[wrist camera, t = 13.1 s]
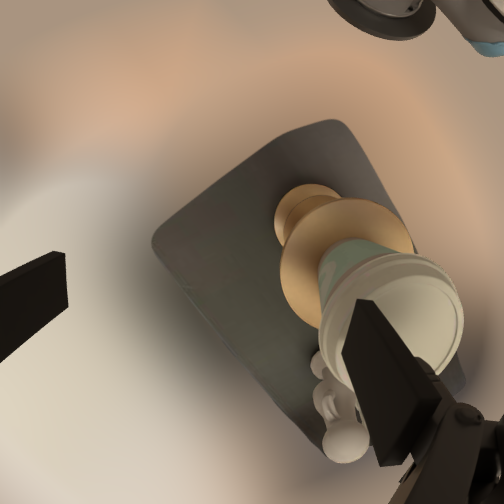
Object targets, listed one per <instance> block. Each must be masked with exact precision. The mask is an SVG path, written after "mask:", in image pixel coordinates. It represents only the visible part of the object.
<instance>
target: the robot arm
mask: <svg viewBox="0 0 504 504" xmlns="http://www.w3.org/2000/svg"><path fill="white" fill-rule="evenodd" d="M355 1H356V2H357V3H358V4H359V5H360V6H362V7H363V8H365V9H366V10H368V11H370V12H372V13H373V14H376V15H378V16H381V17H384V18H388V19H405V18H408V17H410V16H412V15H413V14H414V13H415V12H416V11H417V10H418V9H419V8H420V6H421V4H422V2H423V0H355ZM431 1H432V2H433V3H434V4H435V5H436V6H437V7H438V8H439V9H440V10H441V11H442V12H443V13H444V15H445V16H446V17H447V18H448V19H449V20H450V21H451V22H452V24H453V25H454V26H455V27H456V28H457V29H458V31H459V32H460V33H461V34H462V36H463V37H464V39H465V40H467V41H468V42H469V43H470V44H471V45H472V46H473V48H475V50H476V51H477V52H478V53H479V54H481V55H483V56H486V57H498V56H503V55H504V0H431ZM67 308H68V295H67V282H66V263H65V253H62V252H57V251H52V252H50V253H47V254H46V255H43V256H41V257H39V258H36V259H35V260H32V261H30V262H28V263H26V264H24V265H22V266H20V267H18V268H16V269H14V270H12V271H10V272H8V273H6V274H4V275H2V276H0V363H1V362H2V361H3V360H5V359H6V358H7V357H8V356H9V355H10V354H11V353H13V352H14V351H15V350H16V349H17V348H19V347H20V346H21V345H22V344H23V343H24V342H26V341H27V340H28V339H29V338H31V337H32V336H33V335H34V334H35V333H37V332H38V331H39V330H40V329H41V328H43V327H44V326H45V325H46V324H48V323H49V322H50V321H51V320H53V319H54V318H55V317H56V316H58V315H59V314H60V313H61V312H63V311H64V310H65V309H67ZM341 356H342V358H343V361H344V364H345V367H346V369H347V372H348V375H349V378H350V380H351V383H352V386H353V389H354V392H355V394H356V397H357V400H358V403H359V406H360V409H361V412H362V414H363V417H364V420H365V423H366V426H367V429H368V432H369V435H370V438H371V441H372V444H373V447H374V450H375V453H376V456H377V460H378V463H379V466H380V467H384V466H394V465H402V463H403V462H404V460H405V459H406V458H407V456H408V455H409V453H410V452H411V455H412V457H413V459H414V462H413V464H412V465H411V466H410V468H409V469H408V470H407V472H406V473H405V474H404V476H403V477H402V478H401V480H400V481H399V482H400V485H399V487H398V489H397V491H396V492H395V494H394V495H393V497H392V498H391V500H390V502H389V503H388V504H504V415H503V416H502V418H501V419H500V421H499V422H497V421H488V420H484V417H483V415H482V414H481V412H480V411H479V410H477V409H476V408H475V407H473V406H471V405H469V404H465V403H457V402H456V401H455V399H454V398H453V397H452V395H451V394H450V392H449V391H448V389H447V388H446V387H445V385H444V384H443V382H441V380H440V378H439V377H438V375H436V373H435V371H434V370H433V369H432V367H431V366H430V364H428V363H427V362H426V361H424V360H423V359H422V358H420V357H414V356H413V354H412V353H411V351H410V350H409V349H408V347H407V346H406V344H405V343H404V342H403V340H402V339H401V337H400V336H399V335H398V333H397V332H396V331H395V329H394V328H393V326H392V325H391V324H390V322H389V321H388V320H387V318H386V317H385V316H384V314H383V313H382V312H381V310H380V309H379V308H378V306H377V305H376V304H375V302H374V301H373V300H366V299H356V303H355V307H354V310H353V314H352V318H351V321H350V325H349V328H348V332H347V335H346V338H345V342H344V345H343V348H342V352H341ZM500 474H501V477H500V480H499V476H500Z"/></svg>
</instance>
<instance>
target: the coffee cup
mask: <svg viewBox="0 0 504 504" xmlns="http://www.w3.org/2000/svg"><path fill="white" fill-rule="evenodd" d="M318 286H319V295H320V305H321V315H322V317H321V321H320V326H319V347H320V351H321V355H322V357H323V360H324V362H325V363H326V365H327V366H328V368H329V370H330V371H331V373H332V374H333V375H334V376H335V377H336V378H337V379H338V380H339V381H340V382H341V383H343V384H344V385H346V386H347V387H348V388H349V389H350V390H352V391H353V392H354V389H353V386H352V383H351V380H350V378H349V375H348V372H347V369H346V367H345V364H344V361H343V358H342V356H341V352H342V348H343V345H344V342H345V338H346V335H347V332H348V328H349V325H350V321H351V318H352V314H353V310H354V307H355V303H356V299H366V300H373V301H374V302H375V304H376V305H377V306H378V308H379V309H380V310H381V312H382V313H383V314H384V316H385V317H386V318H387V320H388V321H389V322H390V324H391V325H392V326H393V328H394V329H395V331H396V332H397V333H398V335H399V336H400V337H401V339H402V340H403V342H404V343H405V344H406V346H407V347H408V349H409V350H410V351H411V353H412V354H413V356H414V357H420V358H422V359H423V360H424V361H426V362H427V363H428V364H430V366H431V367H432V369H433V370H434V371H435V373H436V375H439V374H440V373H441V372H442V371H443V369H444V368H445V367H446V366H447V364H448V363H449V362H450V360H451V359H452V357H453V355H454V354H455V352H456V350H457V347H458V345H459V343H460V340H461V336H462V332H463V324H464V315H463V308H462V305H461V302H460V300H459V297H458V294H457V291H456V288H455V286H454V284H453V282H452V280H451V279H450V277H449V276H448V275H447V274H446V272H445V271H444V270H443V269H442V268H441V267H440V266H439V265H438V264H437V263H435V262H434V261H432V260H431V259H429V258H427V257H424V256H421V255H418V254H413V253H400V252H398V251H395V250H393V249H390V248H387V247H384V246H382V245H379V244H376V243H374V242H371V241H368V240H365V239H362V238H357V237H350V238H345V239H342V240H339V241H337V242H335V243H334V244H332V245H331V246H330V247H329V248H328V249H327V250H326V251H325V253H324V254H323V256H322V257H321V259H320V262H319V265H318ZM354 393H355V392H354Z"/></svg>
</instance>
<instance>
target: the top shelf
mask: <svg viewBox="0 0 504 504" xmlns="http://www.w3.org/2000/svg"><path fill="white" fill-rule="evenodd" d="M350 237H357V238H362V239H365V240H368V241H371V242H374V243H376V244H379V245H382V246H384V247H387V248H390V249H393V250H395V251H398V252H400V253H413V254H414V251H413V246H412V242H411V238H410V236H409V234H408V232H407V230H406V228H405V226H404V225H403V223H402V222H401V221H400V220H399V218H398V217H397V216H396V215H395V214H393V213H392V212H391V211H390V210H388V209H387V208H385V207H384V206H382V205H380V204H378V203H376V202H373V201H369V200H366V199H361V198H339V199H334V200H331V201H328V202H325V203H323V204H321V205H319V206H317V207H315V208H314V209H312V210H310V211H309V212H308V213H307V214H305V215H304V216H303V217H302V218H301V219H300V220H299V221H298V222H297V223H296V225H295V226H294V227H293V229H292V230H291V232H290V234H289V235H288V237H287V239H286V242H285V244H284V246H283V250H282V254H281V259H280V278H281V285H282V289H283V292H284V295H285V297H286V299H287V302H288V303H289V305H290V306H291V308H292V309H293V311H294V312H295V313H296V314H297V315H298V316H299V317H300V318H301V319H302V320H304V321H305V322H307V323H308V324H310V325H311V326H313V327H315V328H317V329H319V326H320V321H321V317H322V315H321V305H320V295H319V286H318V265H319V262H320V259H321V257H322V256H323V254H324V253H325V251H326V250H327V249H328V248H329V247H330V246H331V245H332V244H334V243H335V242H337V241H339V240H342V239H345V238H350Z"/></svg>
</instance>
